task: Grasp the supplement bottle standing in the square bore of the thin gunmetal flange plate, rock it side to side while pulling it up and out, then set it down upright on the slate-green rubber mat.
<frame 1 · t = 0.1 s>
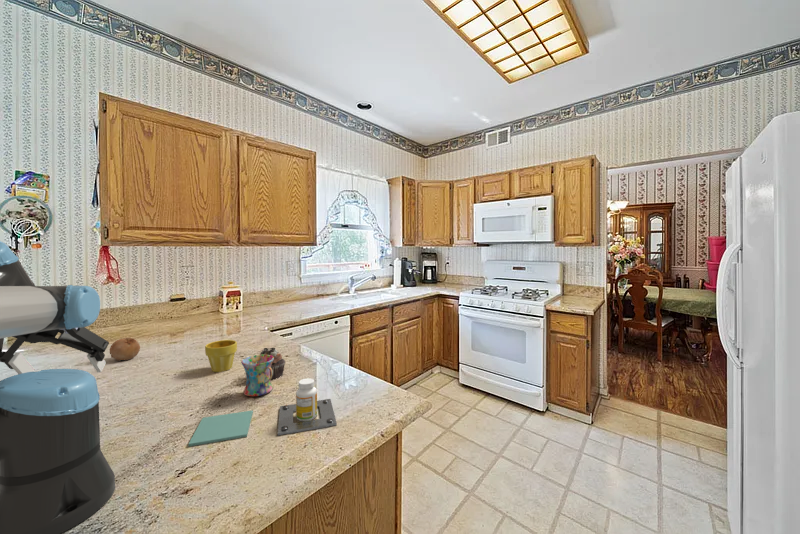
hand: (66, 371, 76), 15 cm above the countertop, tool tilted 35°, fingers open, 13 cm apart
mat: (223, 427, 79), on the countertop
mug: (261, 394, 98), on the countertop
plant pot: (222, 369, 118), on the countertop
supplement bottle: (306, 417, 84), resting in flange plate
flange plate: (306, 416, 84), on the countertop
cupcake: (271, 376, 112), on the countertop
brown oval lump: (125, 359, 129), on the countertop
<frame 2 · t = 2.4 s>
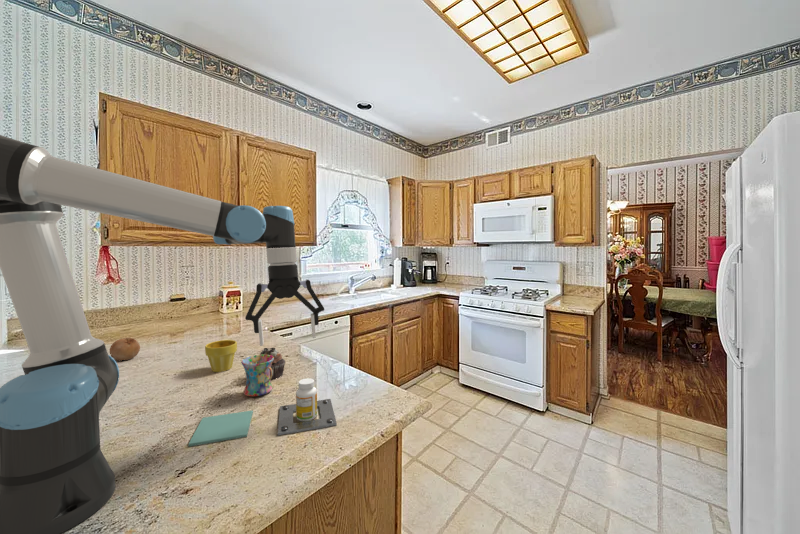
hand: (288, 340, 87), 20 cm above the countertop, tool pointing down, fingers open, 13 cm apart
nothing on the countertop moved.
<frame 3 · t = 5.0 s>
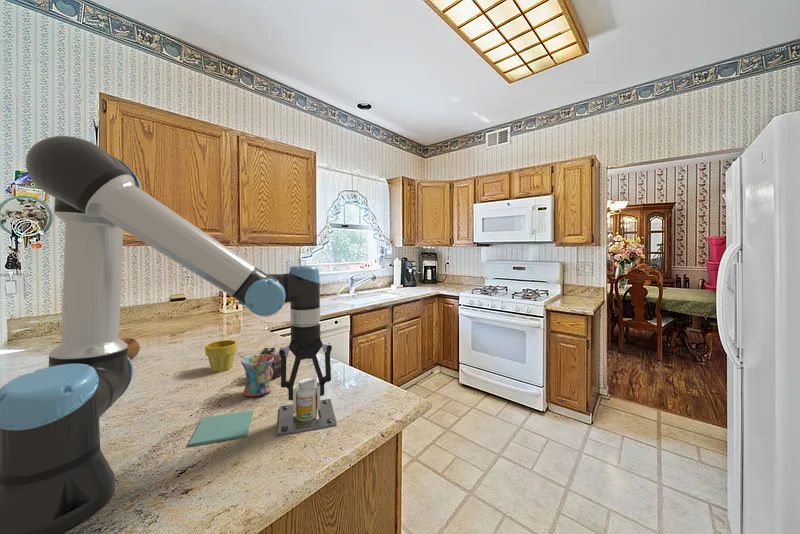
hand: (306, 409, 84), 2 cm above the countertop, tool pointing down, fingers closed on supplement bottle, 5 cm apart
supplement bottle: (306, 417, 84), resting in flange plate, touching gripper
everything else where it was.
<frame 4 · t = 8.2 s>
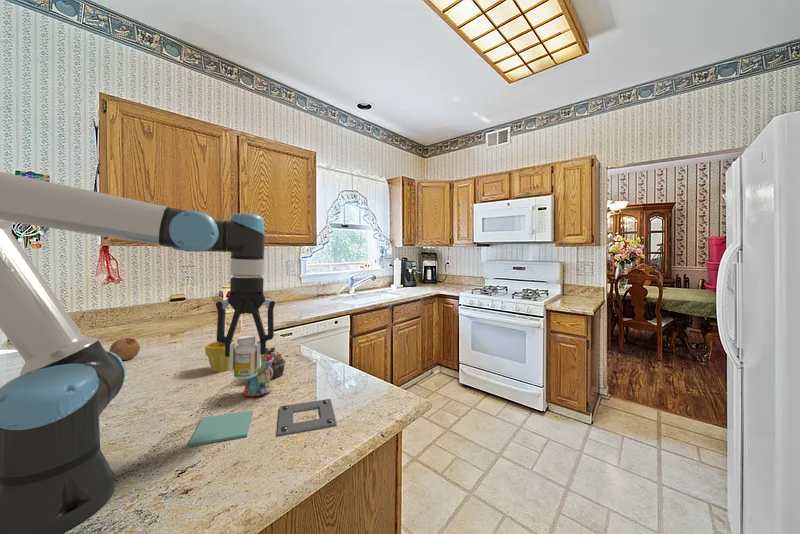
hand: (245, 367, 79), 15 cm above the countertop, tool pointing down, fingers closed on supplement bottle, 5 cm apart
supplement bottle: (245, 376, 79), point 13 cm above the countertop, touching gripper
everything else where it was.
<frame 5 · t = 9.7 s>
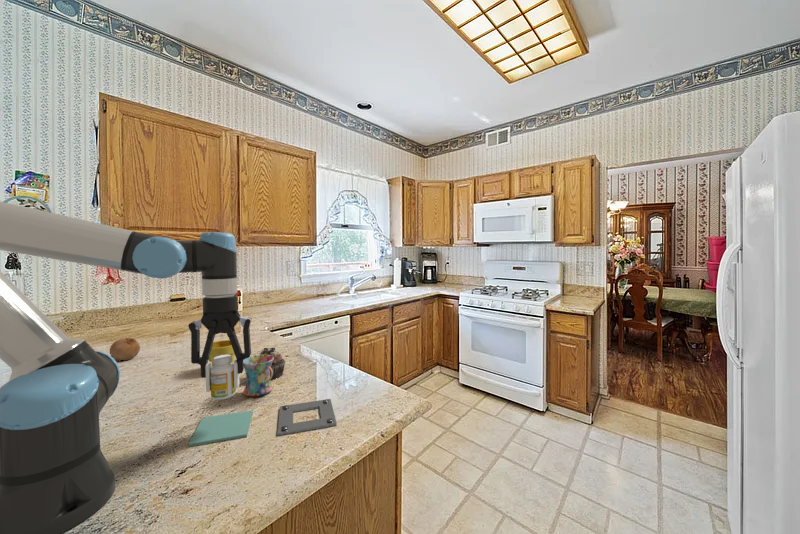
hand: (223, 387, 78), 10 cm above the countertop, tool pointing down, fingers closed on supplement bottle, 5 cm apart
supplement bottle: (223, 396, 78), point 8 cm above the countertop, touching gripper
everything else where it was.
when the fingers open (3 cm above the countertop, at t = 11.2 s): supplement bottle stays where it is, resting on mat.
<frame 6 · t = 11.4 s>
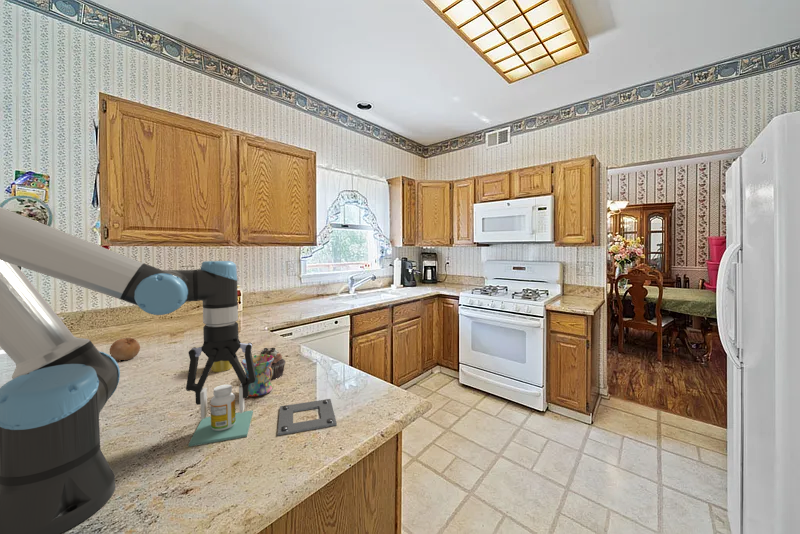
hand: (223, 413, 78), 4 cm above the countertop, tool pointing down, fingers open, 8 cm apart
supplement bottle: (223, 426, 79), resting on mat
everything else where it was.
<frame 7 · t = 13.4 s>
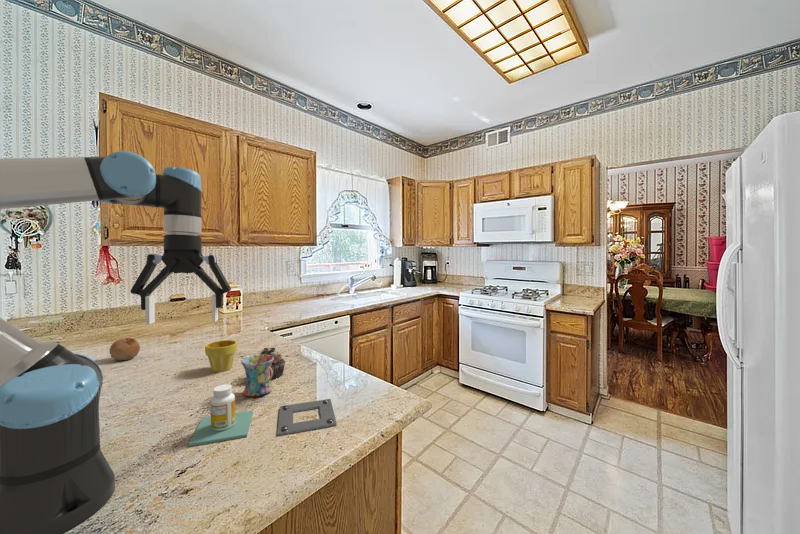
hand: (183, 322, 76), 27 cm above the countertop, tool pointing down, fingers open, 13 cm apart
nothing on the countertop moved.
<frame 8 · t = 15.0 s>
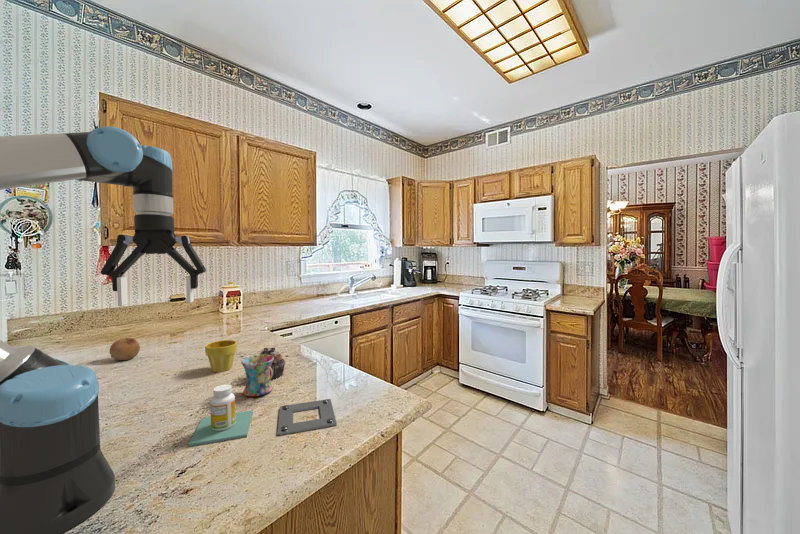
hand: (157, 303, 75), 32 cm above the countertop, tool pointing down, fingers open, 13 cm apart
nothing on the countertop moved.
at the end: supplement bottle inside the target area on the mat (0.0 cm from its centre), point 0.4 cm above the mat's base; supplement bottle tilted 0°; supplement bottle touching mat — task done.
